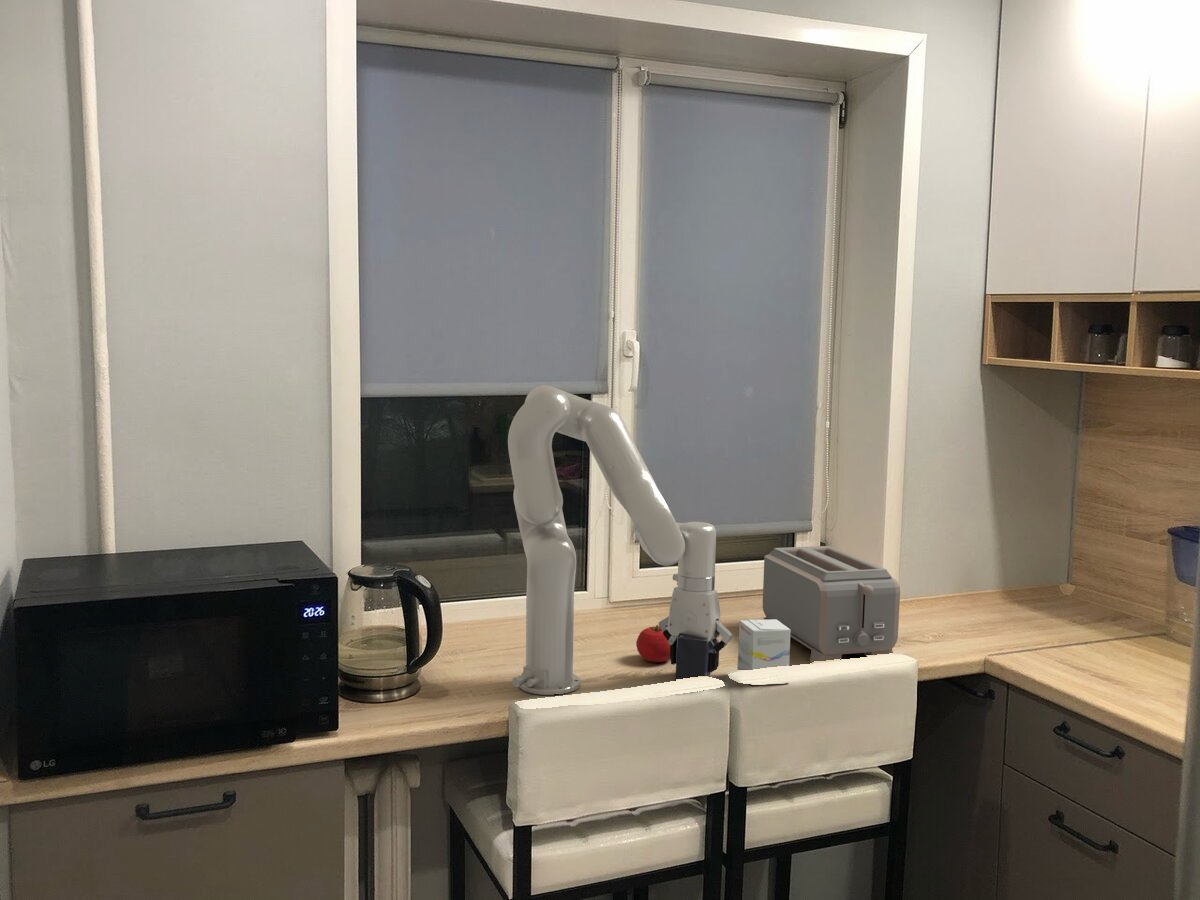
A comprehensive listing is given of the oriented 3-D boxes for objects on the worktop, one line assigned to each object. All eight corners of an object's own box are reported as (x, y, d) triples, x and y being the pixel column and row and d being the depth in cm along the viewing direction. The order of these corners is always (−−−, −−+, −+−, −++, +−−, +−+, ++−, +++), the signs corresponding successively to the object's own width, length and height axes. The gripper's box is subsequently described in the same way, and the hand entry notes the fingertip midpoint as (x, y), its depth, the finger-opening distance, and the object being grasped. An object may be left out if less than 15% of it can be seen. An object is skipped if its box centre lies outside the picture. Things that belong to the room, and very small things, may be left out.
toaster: (826, 673, 215) (830, 579, 213) (758, 627, 249) (761, 546, 247) (906, 667, 221) (911, 575, 218) (829, 623, 254) (832, 543, 252)
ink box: (789, 684, 207) (792, 628, 206) (750, 686, 206) (752, 630, 204) (774, 671, 216) (776, 617, 214) (736, 673, 214) (738, 618, 213)
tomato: (656, 651, 228) (657, 617, 227) (684, 661, 221) (685, 625, 220) (627, 659, 222) (628, 623, 221) (655, 669, 215) (656, 633, 214)
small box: (706, 691, 202) (707, 640, 201) (674, 688, 204) (675, 637, 203) (712, 674, 213) (713, 625, 212) (681, 671, 214) (682, 623, 213)
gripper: (650, 580, 208) (648, 663, 210) (726, 593, 198) (723, 680, 200) (668, 573, 214) (666, 654, 216) (743, 585, 205) (740, 670, 206)
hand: (693, 666), depth 208 cm, fingers closed on small box, 7 cm apart
